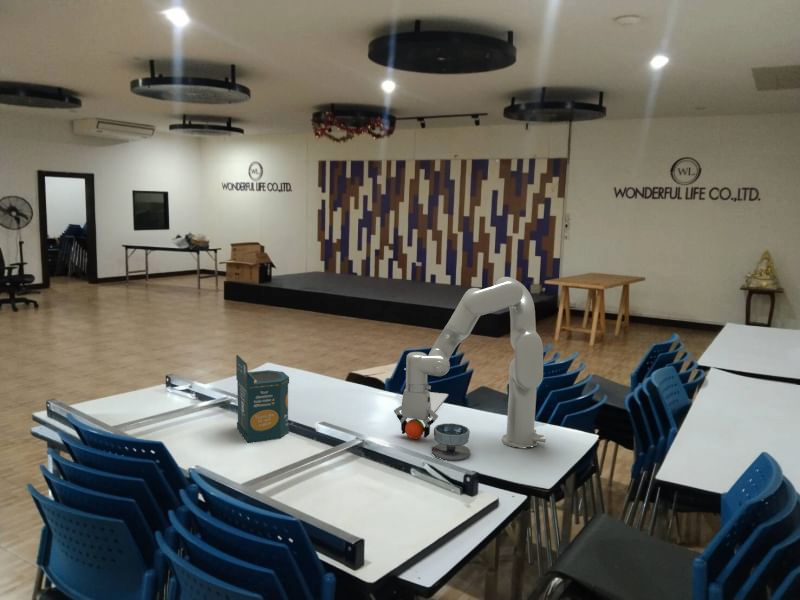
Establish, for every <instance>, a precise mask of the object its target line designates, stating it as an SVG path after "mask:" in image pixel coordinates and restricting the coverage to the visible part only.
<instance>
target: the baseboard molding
mask: <svg viewBox="0 0 800 600" xmlns="http://www.w3.org/2000/svg"><path fill="white" fill-rule="evenodd" d="M431 391H433V390H431V389H430V390H429V393H430V400H431V410H432V411H433V412H435V411H436V412H437V410H438V409H439V408H440V407H441V405H442V404H443V403H444V402H445V401H446V400H447V398H448V397H449V392H447V391H446V393H444V392H441V391H440V390H439V389H434V391H433V392H431ZM441 403H442V404H441ZM439 406H440V407H439ZM436 412H435V413H436ZM430 418H431V419H432V416H430V417H429V419H430Z"/></svg>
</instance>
